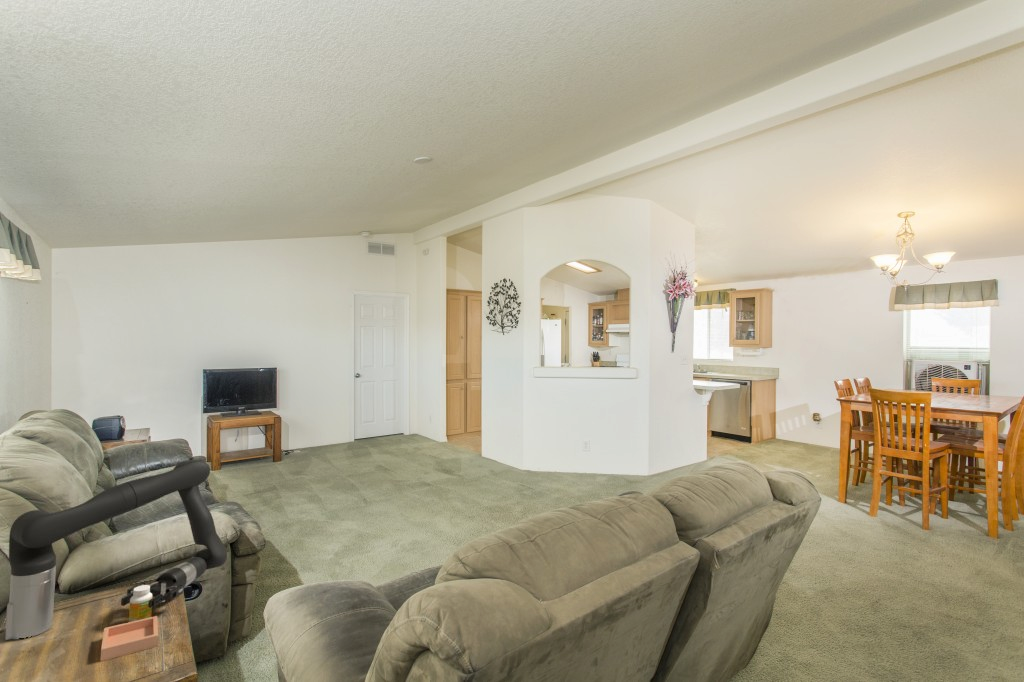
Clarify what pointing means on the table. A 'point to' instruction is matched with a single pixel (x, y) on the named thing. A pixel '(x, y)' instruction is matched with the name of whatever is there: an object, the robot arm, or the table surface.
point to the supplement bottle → (140, 603)
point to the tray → (129, 638)
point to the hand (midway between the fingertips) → (136, 603)
